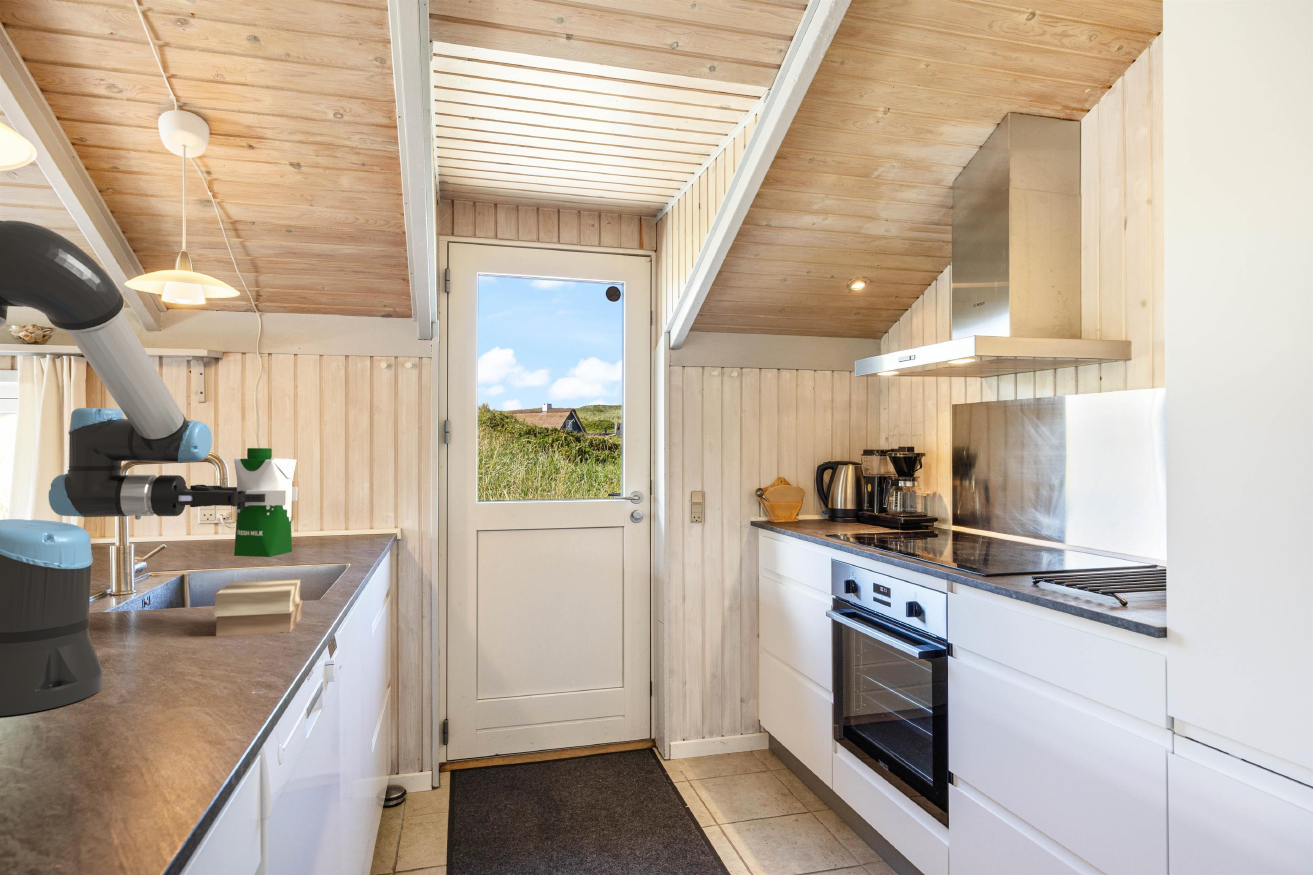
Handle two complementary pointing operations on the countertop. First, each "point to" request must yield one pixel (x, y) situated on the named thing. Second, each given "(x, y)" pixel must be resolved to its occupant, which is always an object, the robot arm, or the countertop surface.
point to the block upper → (257, 597)
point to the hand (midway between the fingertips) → (291, 495)
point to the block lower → (259, 623)
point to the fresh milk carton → (264, 524)
